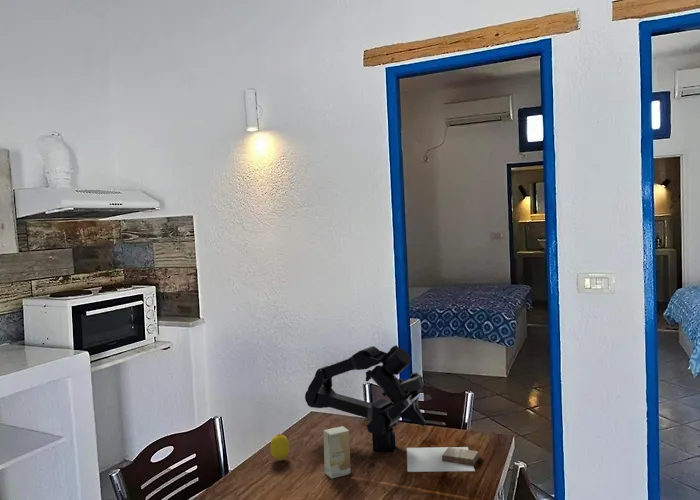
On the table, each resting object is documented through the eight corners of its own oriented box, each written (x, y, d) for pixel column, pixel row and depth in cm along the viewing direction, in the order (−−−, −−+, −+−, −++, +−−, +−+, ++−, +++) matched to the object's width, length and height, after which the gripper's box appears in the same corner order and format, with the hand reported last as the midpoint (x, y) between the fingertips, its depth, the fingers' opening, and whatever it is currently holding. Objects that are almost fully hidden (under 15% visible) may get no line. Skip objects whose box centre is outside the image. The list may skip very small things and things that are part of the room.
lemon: (293, 457, 169) (292, 431, 168) (283, 465, 164) (282, 438, 163) (277, 455, 171) (276, 429, 171) (267, 463, 166) (265, 436, 166)
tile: (441, 454, 160) (473, 459, 156) (448, 446, 165) (479, 451, 161) (442, 461, 160) (473, 466, 156) (448, 452, 165) (479, 457, 161)
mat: (407, 473, 155) (407, 471, 155) (406, 449, 170) (406, 447, 170) (475, 473, 153) (474, 470, 153) (467, 449, 169) (467, 447, 169)
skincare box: (331, 479, 153) (328, 435, 153) (324, 473, 157) (322, 430, 157) (352, 473, 156) (350, 429, 156) (345, 467, 160) (342, 425, 160)
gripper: (398, 373, 158) (437, 417, 155) (415, 359, 176) (451, 398, 172) (371, 398, 161) (408, 442, 158) (391, 381, 179) (425, 421, 175)
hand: (424, 424), depth 166 cm, fingers closed
